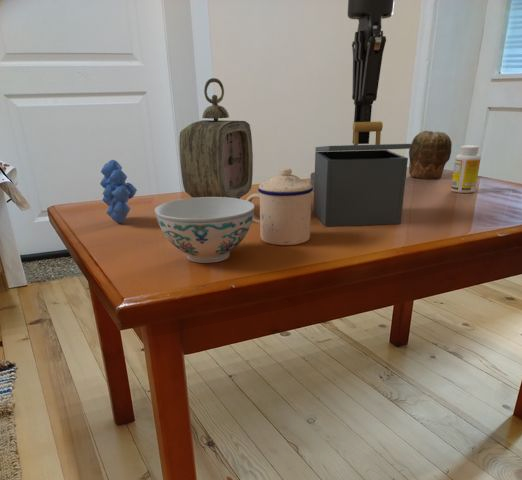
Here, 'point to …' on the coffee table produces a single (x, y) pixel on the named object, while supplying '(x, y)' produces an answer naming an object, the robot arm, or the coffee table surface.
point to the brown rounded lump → (429, 154)
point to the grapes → (116, 191)
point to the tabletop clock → (216, 153)
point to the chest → (359, 187)
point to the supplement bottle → (466, 170)
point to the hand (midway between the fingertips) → (360, 143)
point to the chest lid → (365, 128)
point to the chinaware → (205, 225)
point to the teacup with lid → (284, 209)
